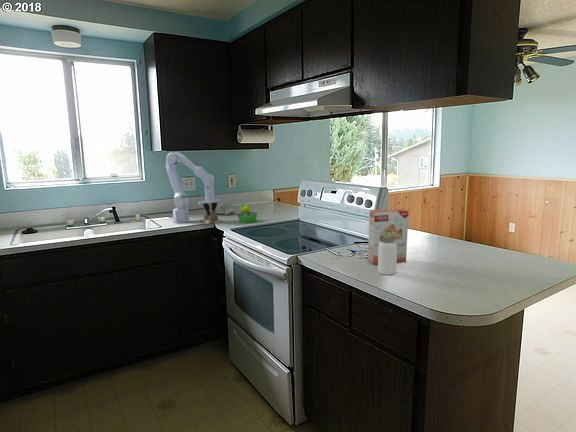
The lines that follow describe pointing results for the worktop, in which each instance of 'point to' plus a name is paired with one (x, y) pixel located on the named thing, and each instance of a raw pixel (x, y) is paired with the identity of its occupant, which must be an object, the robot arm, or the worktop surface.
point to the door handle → (225, 208)
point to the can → (387, 256)
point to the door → (211, 215)
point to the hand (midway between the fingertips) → (210, 215)
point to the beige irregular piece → (210, 220)
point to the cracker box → (388, 231)
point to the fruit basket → (246, 215)
